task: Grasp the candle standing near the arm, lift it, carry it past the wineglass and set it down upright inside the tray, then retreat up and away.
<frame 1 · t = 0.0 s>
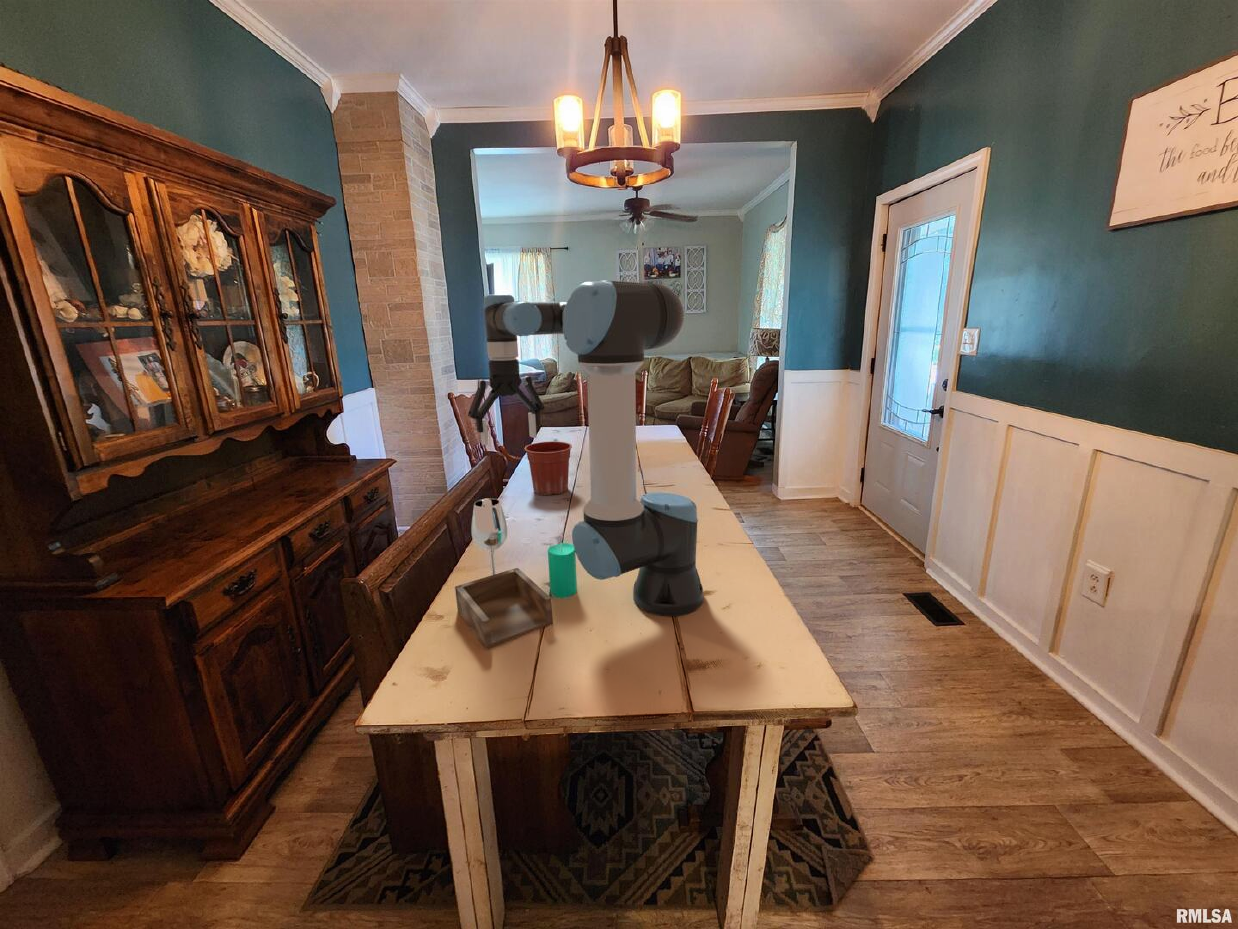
hand: (509, 440, 136), 28 cm above the table, fingers open, 13 cm apart
tray: (504, 617, 106), on the table
wineglass: (494, 584, 119), on the table
flower pot: (550, 490, 184), on the table
candle: (563, 592, 115), on the table
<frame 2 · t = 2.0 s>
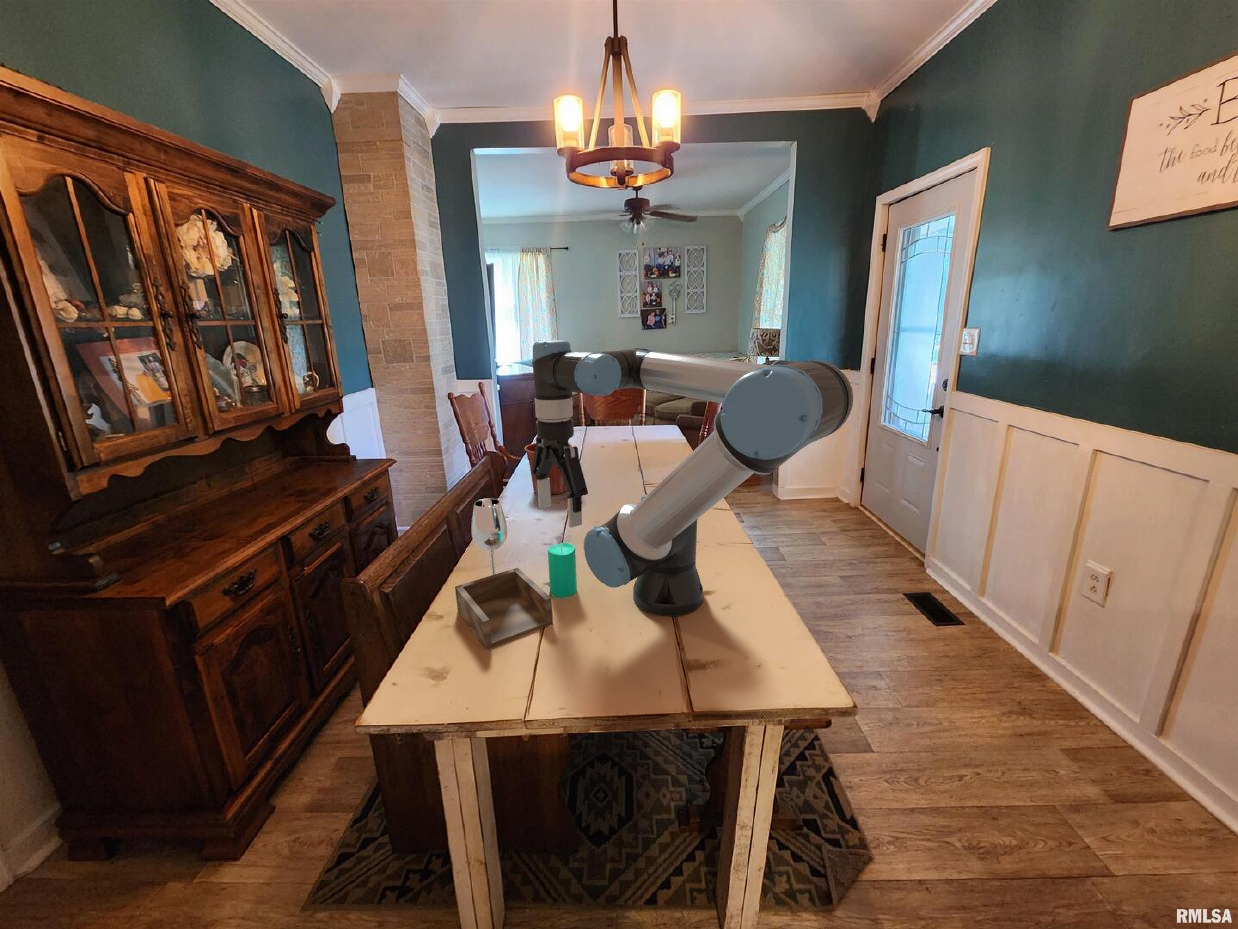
hand: (559, 515, 111), 18 cm above the table, fingers open, 13 cm apart
nothing on the table moved.
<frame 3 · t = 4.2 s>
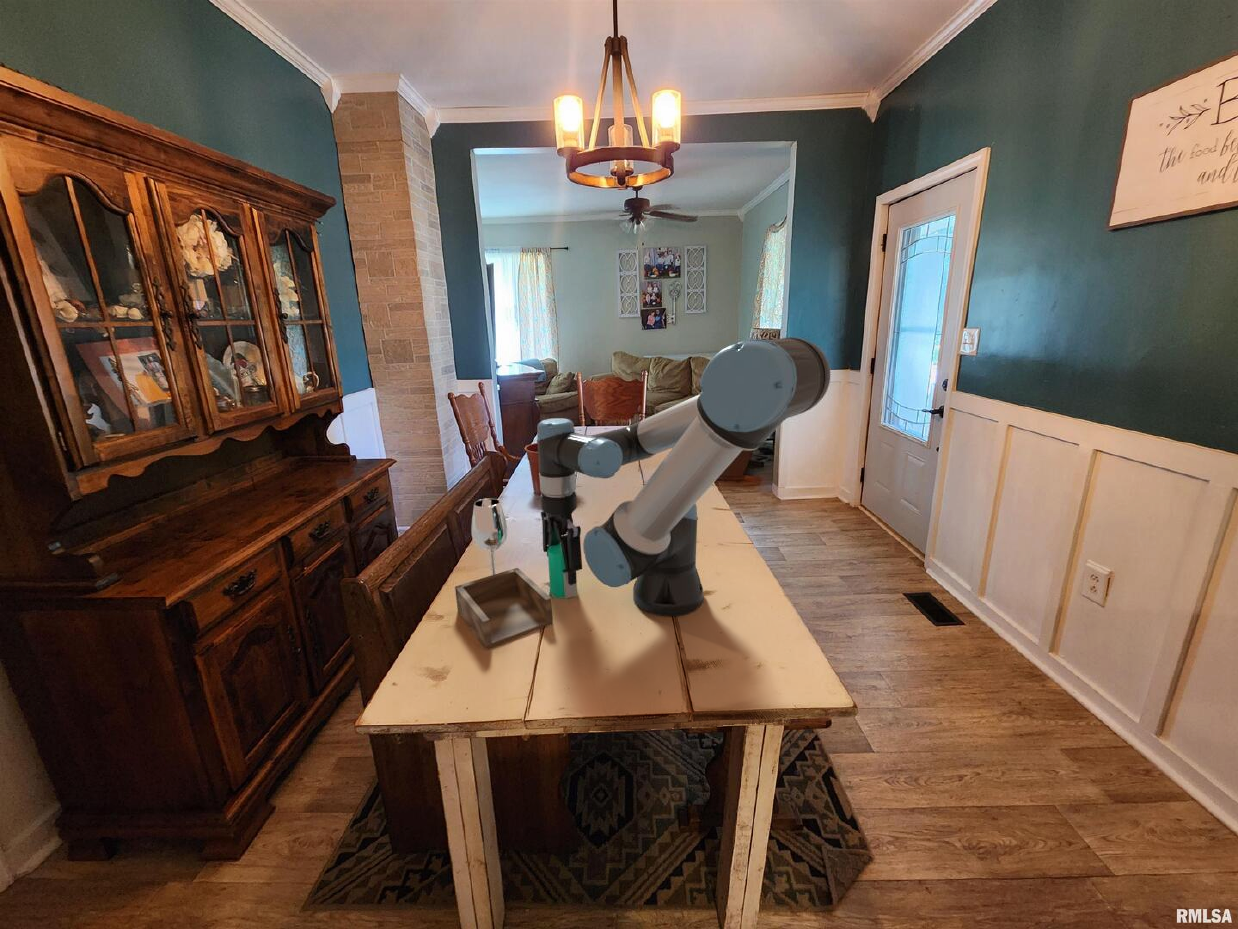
hand: (563, 589, 115), 0 cm above the table, fingers closed on candle, 6 cm apart
candle: (563, 591, 115), on the table, touching gripper
everything else where it was.
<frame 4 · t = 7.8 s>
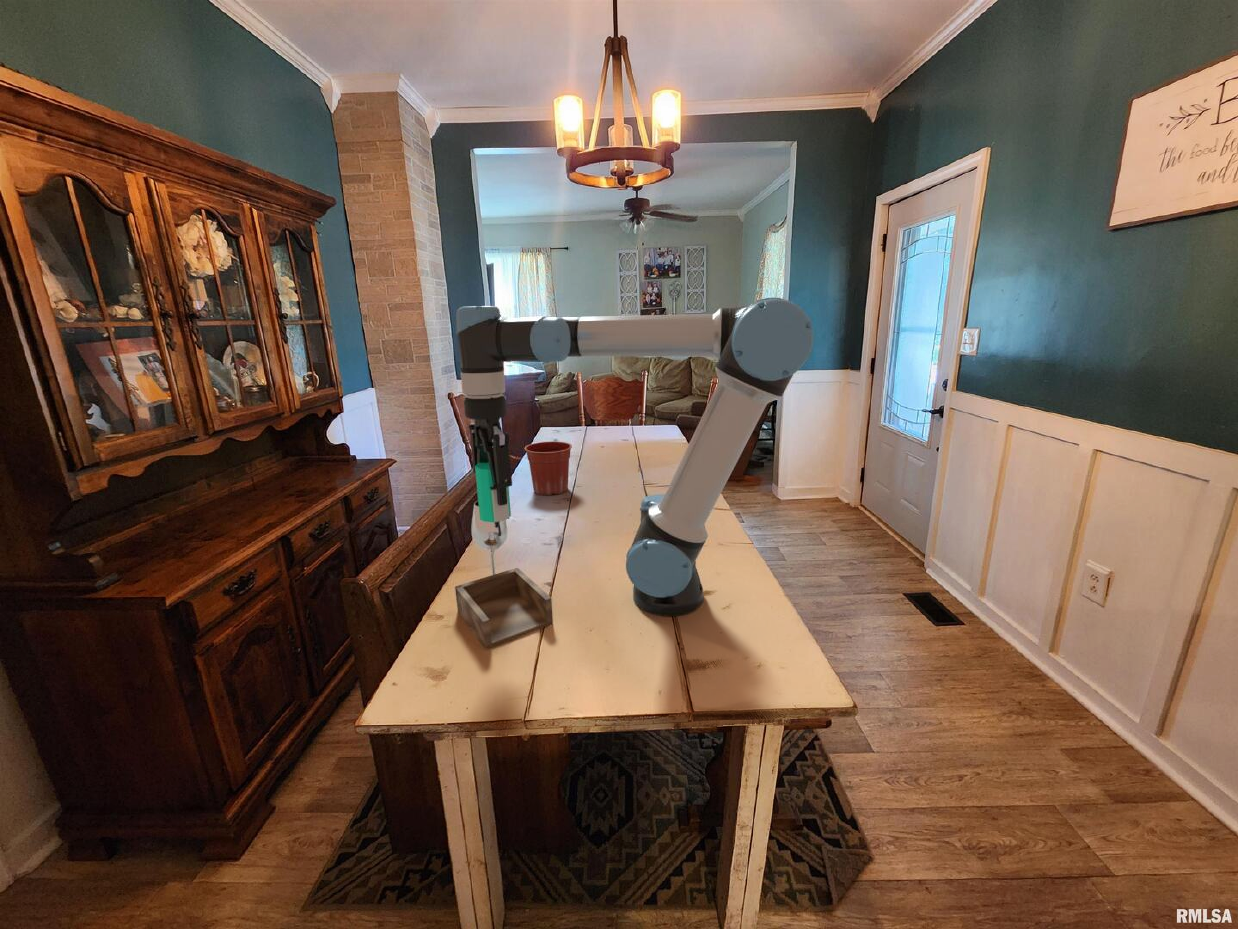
hand: (495, 514, 99), 23 cm above the table, fingers closed on candle, 6 cm apart
candle: (495, 517, 100), point 22 cm above the table, touching gripper
everything else where it was.
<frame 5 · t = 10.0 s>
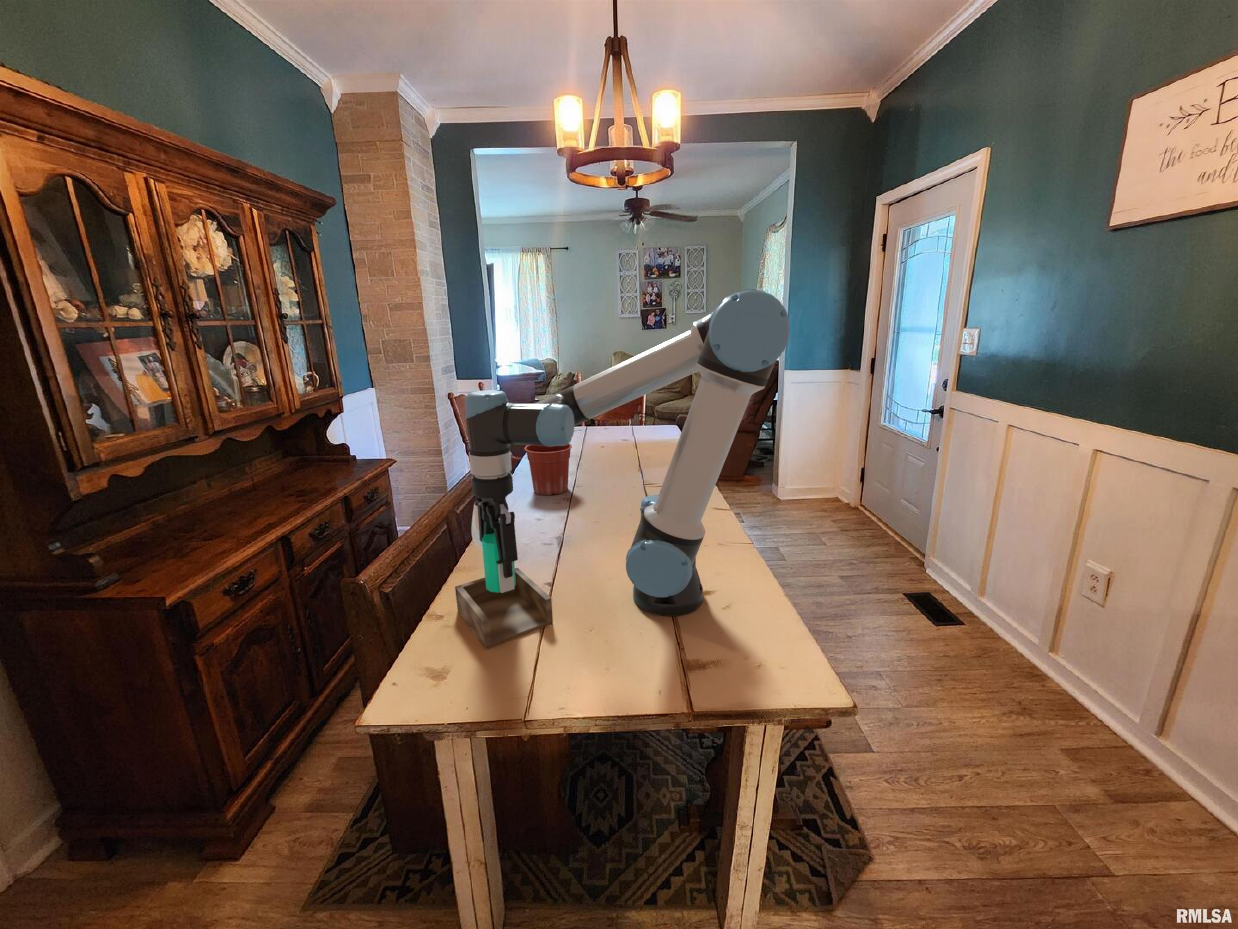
hand: (500, 583, 104), 8 cm above the table, fingers closed on candle, 6 cm apart
candle: (500, 585, 104), point 7 cm above the table, touching gripper
everything else where it was.
when the fingers open (3 cm above the table, at t = 11.6 s): candle drops 1 cm, resting on tray.
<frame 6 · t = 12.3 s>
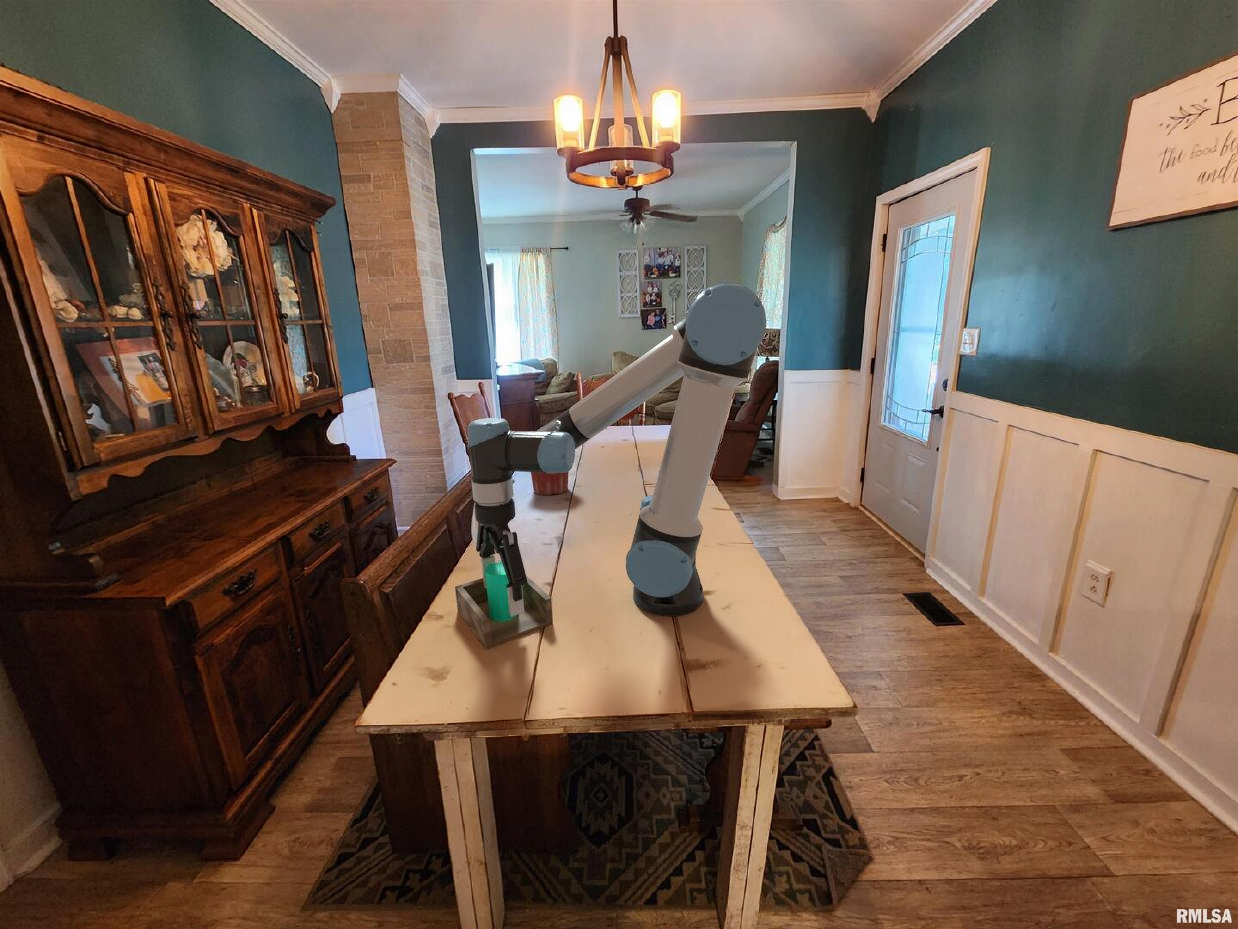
hand: (503, 599, 104), 4 cm above the table, fingers open, 13 cm apart
candle: (504, 614, 106), point 1 cm above the table, touching tray
everything else where it was.
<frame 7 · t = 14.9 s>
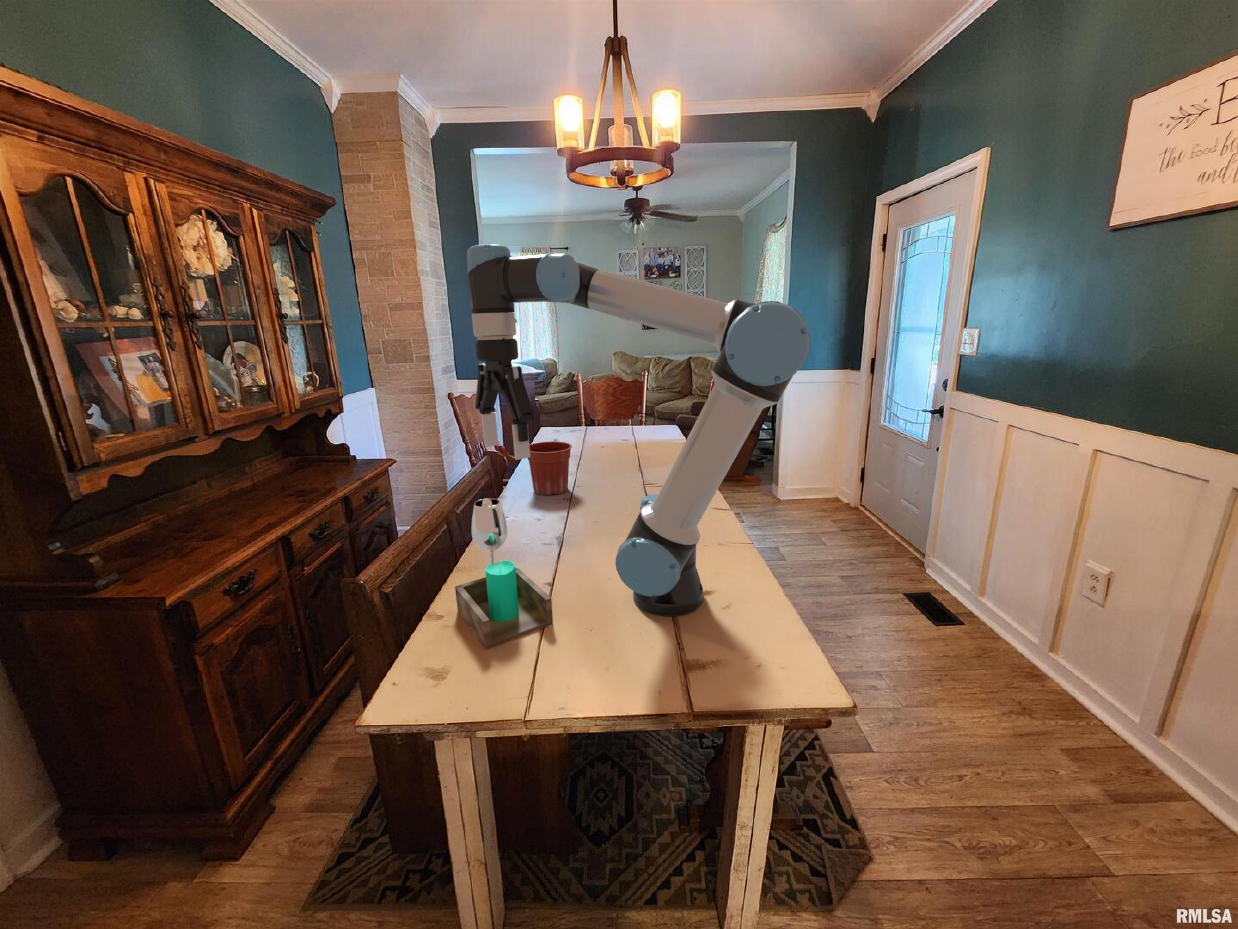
hand: (506, 451, 99), 34 cm above the table, fingers open, 13 cm apart
nothing on the table moved.
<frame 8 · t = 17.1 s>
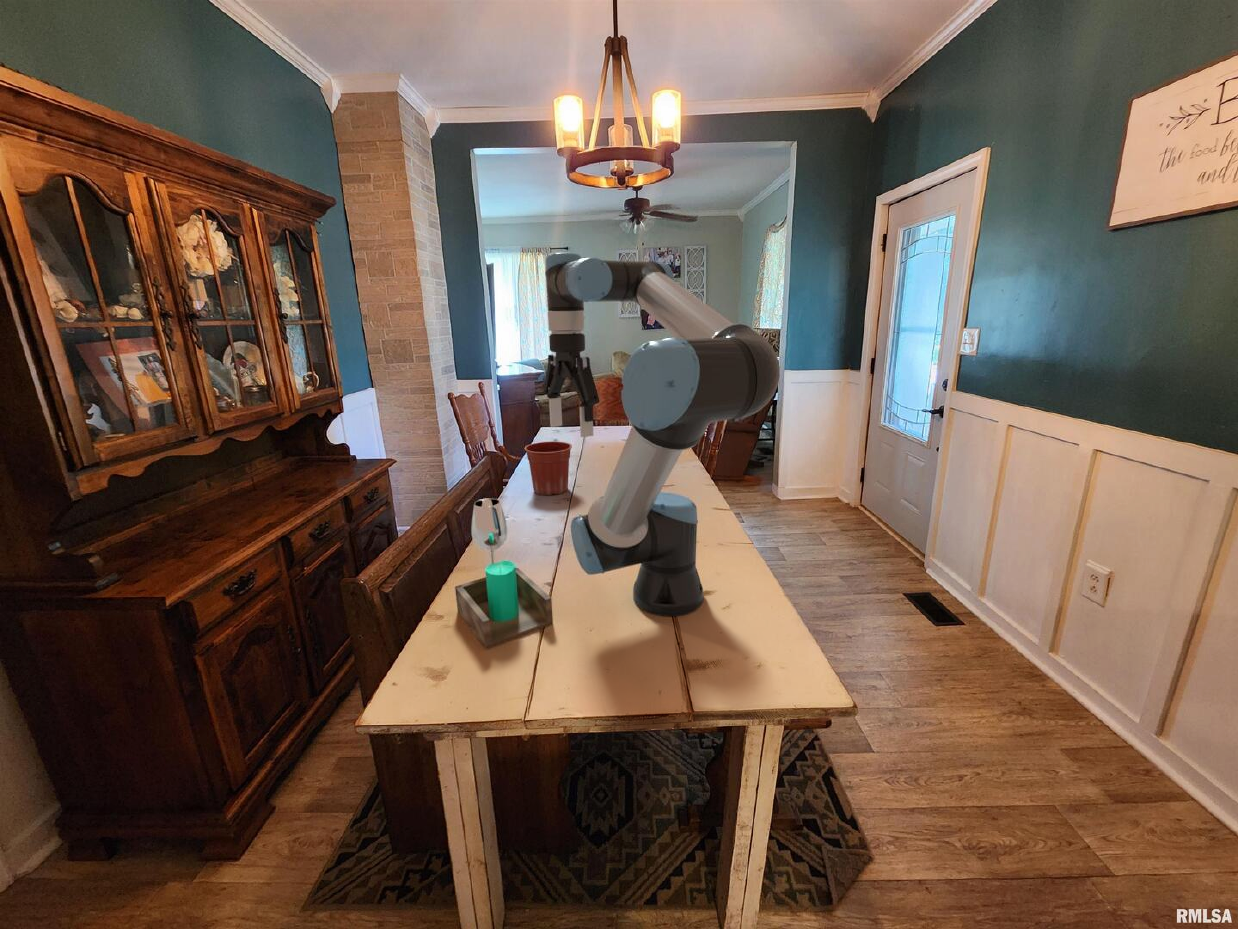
hand: (570, 431, 115), 35 cm above the table, fingers open, 13 cm apart
nothing on the table moved.
at the end: candle inside the target area on the tray (0.4 cm from its centre), point 0.6 cm above the tray's base; candle tilted 0°; the gripper is holding nothing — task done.
